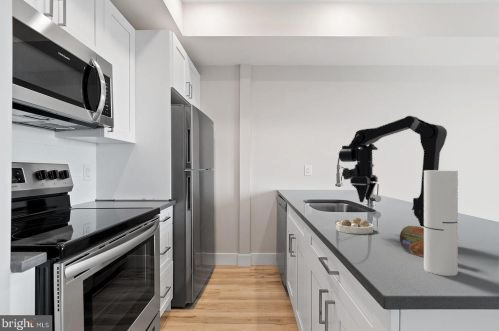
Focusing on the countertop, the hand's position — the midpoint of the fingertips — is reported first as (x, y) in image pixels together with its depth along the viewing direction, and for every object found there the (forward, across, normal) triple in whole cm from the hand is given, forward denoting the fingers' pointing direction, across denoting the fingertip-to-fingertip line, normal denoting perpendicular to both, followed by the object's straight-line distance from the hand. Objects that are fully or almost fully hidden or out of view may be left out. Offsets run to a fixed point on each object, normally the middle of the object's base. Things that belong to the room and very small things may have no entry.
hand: (364, 201), depth 121 cm
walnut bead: (+9, +3, -6) cm, 12 cm away
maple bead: (+9, 0, 0) cm, 9 cm away
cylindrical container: (+12, +36, +27) cm, 47 cm away
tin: (+12, +25, +23) cm, 36 cm away
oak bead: (+9, -4, -4) cm, 11 cm away
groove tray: (+12, 0, -4) cm, 13 cm away
